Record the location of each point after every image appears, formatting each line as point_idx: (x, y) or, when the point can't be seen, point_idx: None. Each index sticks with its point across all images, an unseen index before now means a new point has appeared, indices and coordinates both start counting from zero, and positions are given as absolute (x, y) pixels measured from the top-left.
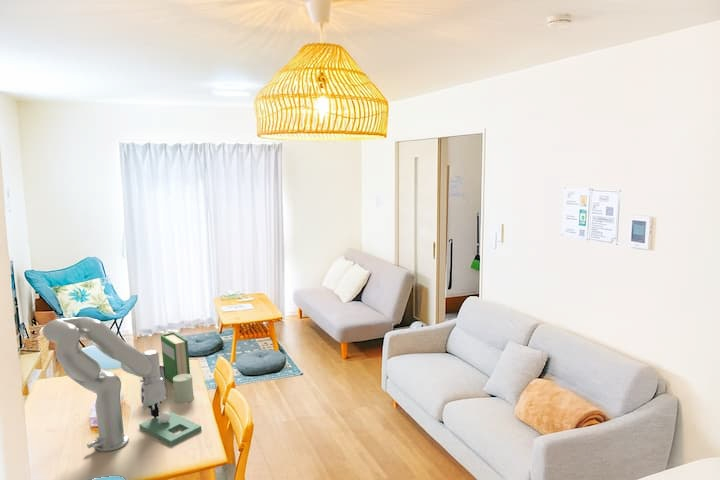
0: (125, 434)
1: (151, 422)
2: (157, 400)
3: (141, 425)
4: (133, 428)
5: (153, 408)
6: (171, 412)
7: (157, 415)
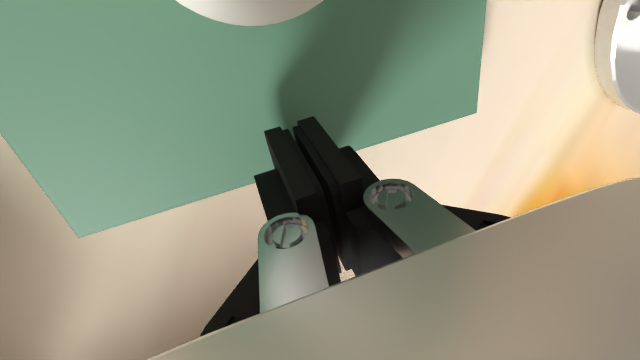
0: (622, 20)
1: (375, 63)
2: (440, 317)
3: (478, 70)
4: (472, 134)
5: (397, 198)
6: (48, 177)
7: (287, 133)
